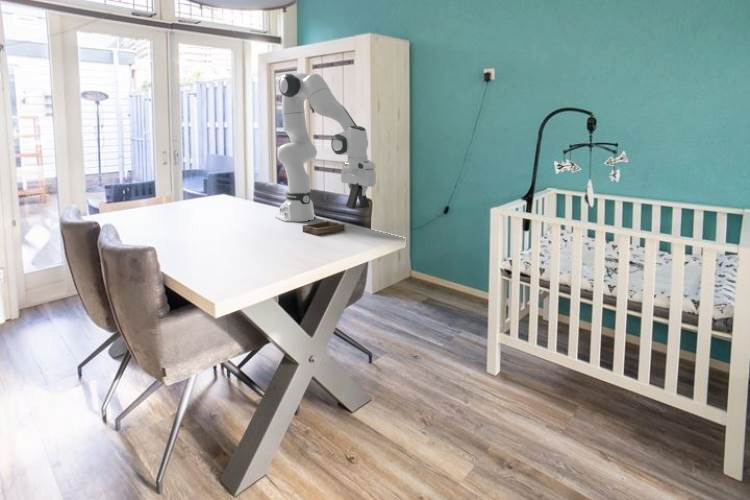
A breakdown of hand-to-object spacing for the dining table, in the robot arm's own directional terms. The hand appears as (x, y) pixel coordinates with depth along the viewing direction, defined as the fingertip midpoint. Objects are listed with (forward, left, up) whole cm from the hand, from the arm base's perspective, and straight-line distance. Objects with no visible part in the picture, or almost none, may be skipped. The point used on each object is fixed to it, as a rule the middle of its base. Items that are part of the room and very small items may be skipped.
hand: (357, 194), depth 236 cm
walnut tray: (-12, -11, -17) cm, 23 cm away
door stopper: (0, 0, -6) cm, 6 cm away
